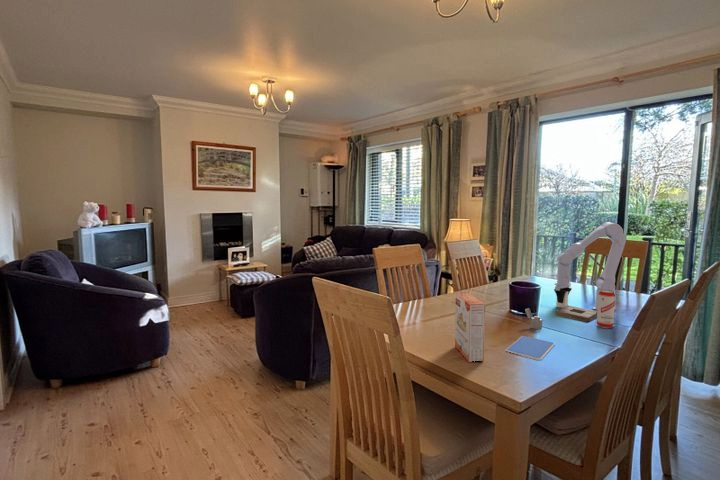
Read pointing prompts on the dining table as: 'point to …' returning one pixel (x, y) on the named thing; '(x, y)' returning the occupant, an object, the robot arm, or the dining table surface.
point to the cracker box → (470, 327)
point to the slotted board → (577, 313)
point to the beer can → (606, 308)
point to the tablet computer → (531, 347)
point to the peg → (565, 301)
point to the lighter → (534, 320)
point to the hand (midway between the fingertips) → (562, 301)
